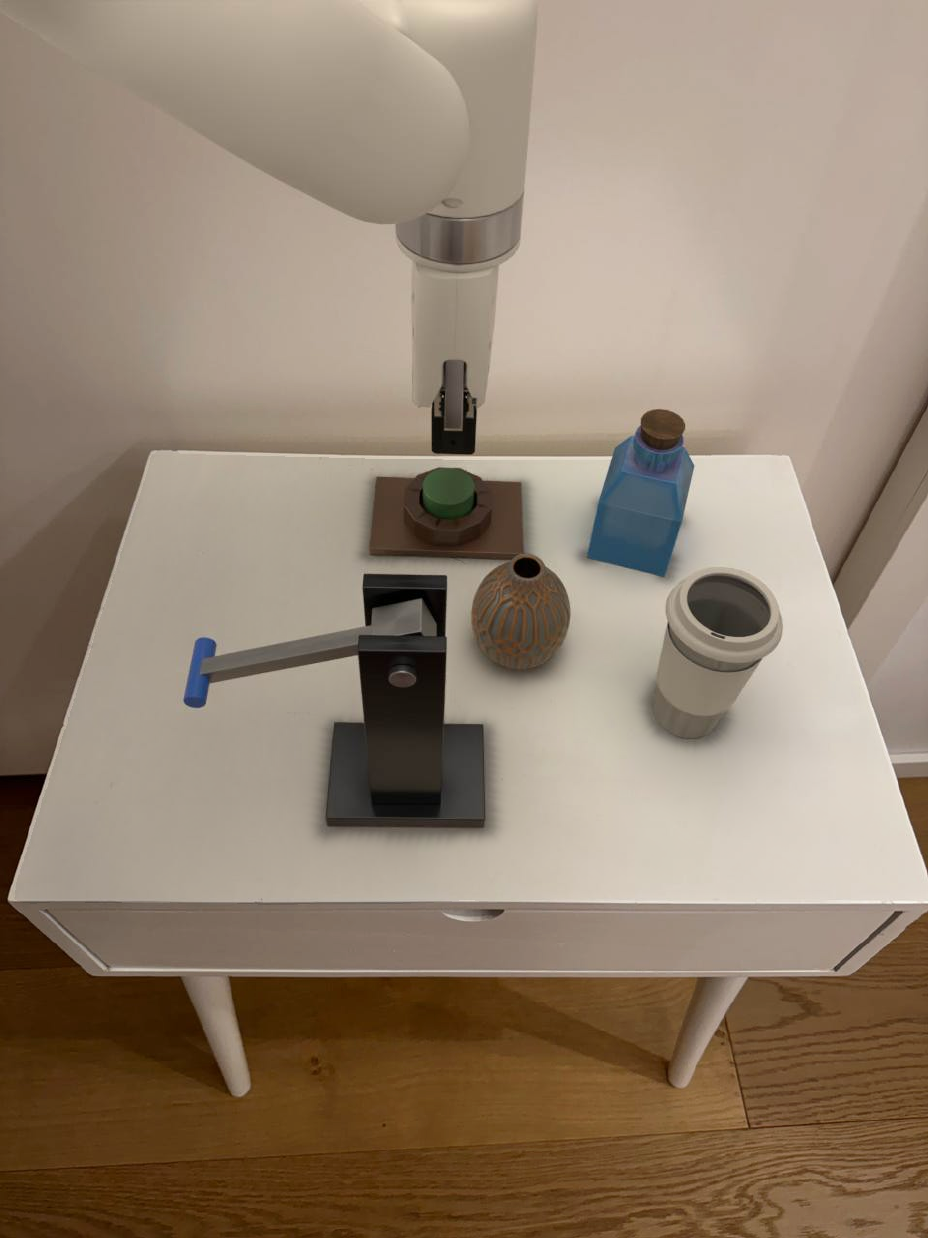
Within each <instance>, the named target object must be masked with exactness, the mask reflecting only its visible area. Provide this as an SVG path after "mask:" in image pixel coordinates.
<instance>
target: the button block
mask: <svg viewBox="0 0 928 1238" xmlns="http://www.w3.org/2000/svg"><path fill="white" fill-rule="evenodd" d="M442 468H444V467H441V466H438V467H436V468H433V469H430V470H427V471H424V472H421V473H419V474H417V475H416V476H415V477H401V476H400V477H397V476H395V477H394V476H376V477H375V485H374V486H375V487H374V496H373V506H372V515H371V525H370V536H369V543H368V544H369V545H368V553H369V555H380V556H409V557H438V558H439V557H441V558H465V559H466V558H467V559H468V558H469V559H491V560H493V559H494V560H512V559H513V558H514V557H515V556H517V555H520V554H525V553H524V524H523V523H524V521H523V520H524V519H523V493H522V492H523V491H522V490H523V487H522V482H521V481H510V480H509V481H508V480H507V481H505V480H484V479H483V478H482V477H481V476H479V475H477V474H475V473H473V472H470V471H468V470H465V469H463V468H461V467H453V468H454V469H458V470H461V471H463V472H465V473H467V474H468V475H469V476H470V477H471V478H472V480H473V482H474V502H473V507H472V509H471V510H470V512H469V513H467V514H466V515H465V516H463V517H461V518H458V519H440V518H437V517H434V516H433V515H431V514H430V513H429V512H427V510H426V509H425V507H424V505H423V482H424V480H425V478H426V477H427V476H428V475H429V474H430V473H431V472H433V471H435V470H438V469H442Z"/></svg>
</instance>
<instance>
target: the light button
mask: <svg viewBox="0 0 928 1238" xmlns="http://www.w3.org/2000/svg"><path fill="white" fill-rule="evenodd" d="M454 468H455V467H443V468H442V469H438V470H435V471H433V472H431V473H430V474H429V475H428V476H427V477H426V478H425V480H424V482H423V505H424V507H425V509H426V510H427V512H429V513H430V514H431V515H433V516H434V517H437V518H440V519H458V518H461V517H463V516H465V515H466V514H467V513H469V512H470V510H471V509H472V507H473V502H474V482H473V480H472V478H471V477H470V476H469V475H468V474H467V473H465V472H463V471H461V470H458V469H454Z"/></svg>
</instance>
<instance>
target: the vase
mask: <svg viewBox="0 0 928 1238" xmlns="http://www.w3.org/2000/svg"><path fill="white" fill-rule="evenodd" d="M470 612H471V613H470V617H471V618H470V619H471V628H472V629H471V630H472V633H473V635H474V638H475V641H476V644H477V645H478V647H479V649H481V651H482V652H483V653H484V654H485V656H486V657H487V658H489V659H490V660H491V661H493V662H494V663H496V664H497V665H500V666H502V667H505V668H508V669H514V670H526V669H532V668H536V667H538V666H541V665H542V664H544V663H546V662H548V660H550V659H551V658H553V656H555V654H556V653H557V652H558V651H559V649H560V648H561V646H562V645H563V643H564V642H565V640H566V637H567V636H568V632H569V628H570V623H571V615H572V614H571V613H572V611H571V603H570V599H569V594H568V592H567V589H566V587H565V585H564V583H563V581H562V580H561V579H560V577H559V576H558V575H557V574H556V572H554V571H553V570H552V569H550V568H549V567H548V566H546V564H545V563H544V561H543V560H542V559H541V558H540V557H538V555H535V554H532V553H524V554H520V555H517V556H515V557H514V558H513V559H510V560H509V561H507V562H504V563H502V564H500V565H498V566H496V567H495V568H493V569H492V570H491V571H489V573H488V574H486V576H485V577H484V578H483V579H482V580H481V583H480V584H479V586H478V587H477V588H476V591H475V594H474V597H473V600H472V603H471V611H470Z"/></svg>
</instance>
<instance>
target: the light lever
mask: <svg viewBox="0 0 928 1238" xmlns="http://www.w3.org/2000/svg"><path fill="white" fill-rule="evenodd" d="M359 635H395V636H436V635H437V624H436V622H435V620H434V619H433V617H432V615H431V613H430V611H429V610H428V608H427V606H426V604H425V602H424V601H423V599H422V598H420V599H415V600H410V601H405V602H400V603H395V604H390V605H385V606H380V607H375V608H373V609H372V624H371V625H370V626H365V625H364V626H360V627H354V628H349V629H344V630H340V631H334V632H330V633H325V634H320V635H314V636H309V637H305V638H299V639H295V640H290V641H289V640H288V641H285V642H280V643H275V644H268V645H265V646H259V647H254V648H249V649H244V650H239V651H235V652H234V651H233V652H228V653H224V654H219V655H216V652H217V647H218V645H217V642H216V640H214V639H213V638H210V637H205V636H203V637H198V638H197V639H196V640H195V641H194V645H193V651H192V655H191V661H190V665H189V669H188V670H189V671H188V675H187V676H188V677H187V679H186V685H185V689H184V695H183V699H182V700H183V703H184V705H185V706H186V707H189V708H193V709H201V708H204V707H205V706H206V704H207V700H208V694H209V689H210V685H211V684H215V683H220V682H224V681H226V682H227V681H231V680H236V679H241V678H245V677H246V678H247V677H251V676H256V675H261V674H267V673H272V672H277V671H282V670H287V669H293V668H299V667H302V666H309V665H314V664H318V663H320V664H321V663H325V662H329V661H334V660H340V659H346V658H350V657H355V656H358V638H359Z"/></svg>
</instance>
